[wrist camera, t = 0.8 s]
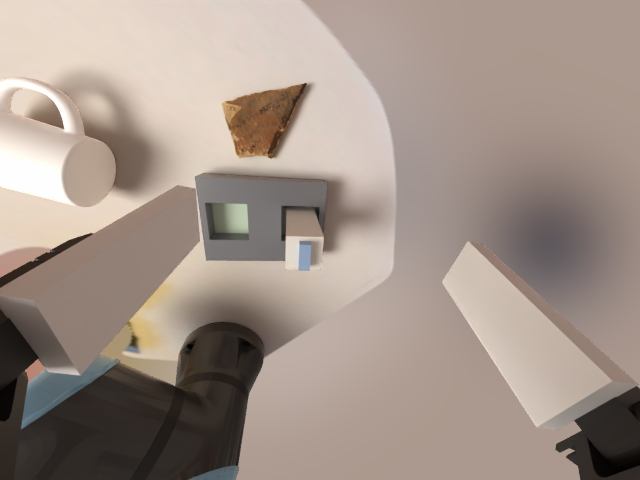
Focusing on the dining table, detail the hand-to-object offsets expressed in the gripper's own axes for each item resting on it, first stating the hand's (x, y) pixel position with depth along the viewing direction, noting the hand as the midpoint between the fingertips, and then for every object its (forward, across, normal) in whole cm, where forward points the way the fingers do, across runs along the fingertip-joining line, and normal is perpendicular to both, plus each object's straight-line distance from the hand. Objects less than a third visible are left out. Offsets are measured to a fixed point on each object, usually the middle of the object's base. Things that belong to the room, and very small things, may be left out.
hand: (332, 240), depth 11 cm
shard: (+25, +10, -2) cm, 27 cm away
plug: (+22, +2, +10) cm, 25 cm away
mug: (+21, +31, +5) cm, 38 cm away
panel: (+22, +7, +11) cm, 26 cm away
